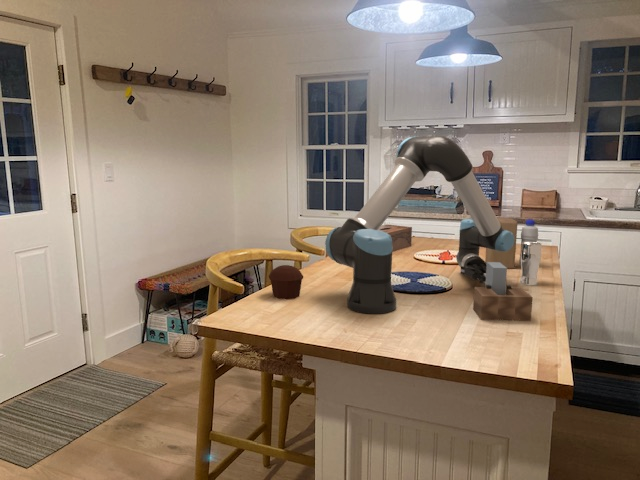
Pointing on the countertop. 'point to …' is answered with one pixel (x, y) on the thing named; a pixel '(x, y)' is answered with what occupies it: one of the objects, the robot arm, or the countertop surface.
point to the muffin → (286, 282)
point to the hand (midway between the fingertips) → (490, 282)
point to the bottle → (529, 233)
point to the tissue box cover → (398, 236)
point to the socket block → (502, 304)
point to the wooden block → (501, 256)
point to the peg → (496, 277)
